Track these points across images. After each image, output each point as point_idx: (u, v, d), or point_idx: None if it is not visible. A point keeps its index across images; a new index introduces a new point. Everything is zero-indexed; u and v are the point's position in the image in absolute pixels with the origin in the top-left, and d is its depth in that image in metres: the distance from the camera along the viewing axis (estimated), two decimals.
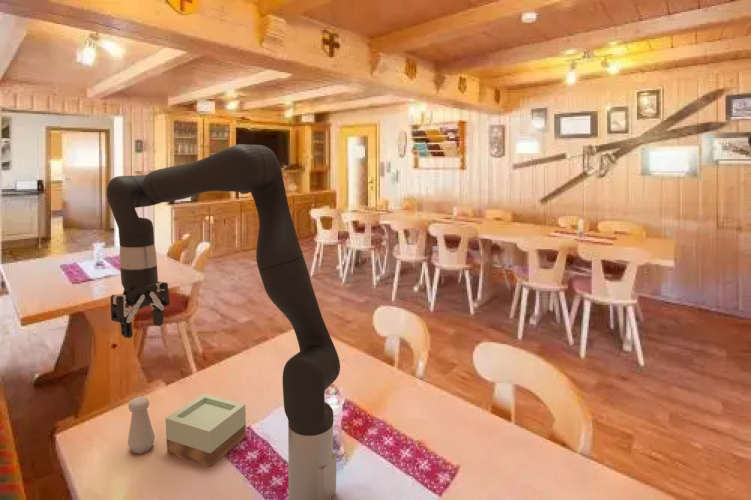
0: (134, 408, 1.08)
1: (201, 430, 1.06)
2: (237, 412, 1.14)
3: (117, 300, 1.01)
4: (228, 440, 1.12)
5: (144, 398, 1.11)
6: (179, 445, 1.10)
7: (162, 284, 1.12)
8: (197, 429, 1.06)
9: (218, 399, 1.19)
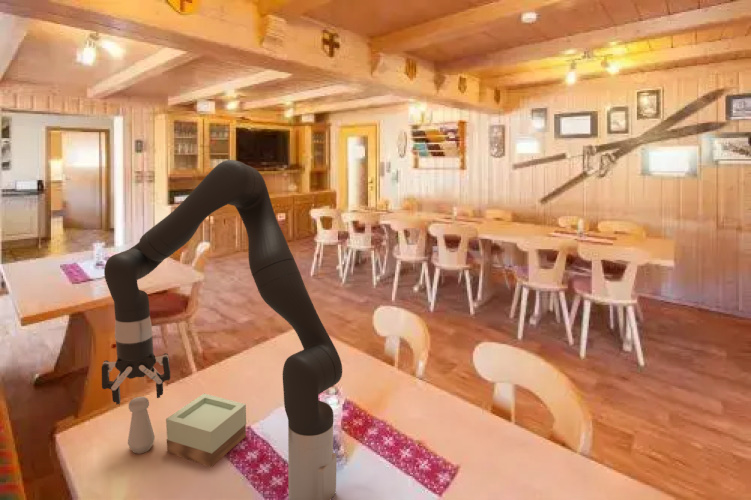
0: (134, 408, 1.08)
1: (202, 430, 1.06)
2: (238, 412, 1.14)
3: None
4: (228, 440, 1.12)
5: (144, 398, 1.11)
6: (179, 445, 1.10)
7: (108, 362, 1.07)
8: (198, 430, 1.06)
9: (218, 399, 1.19)
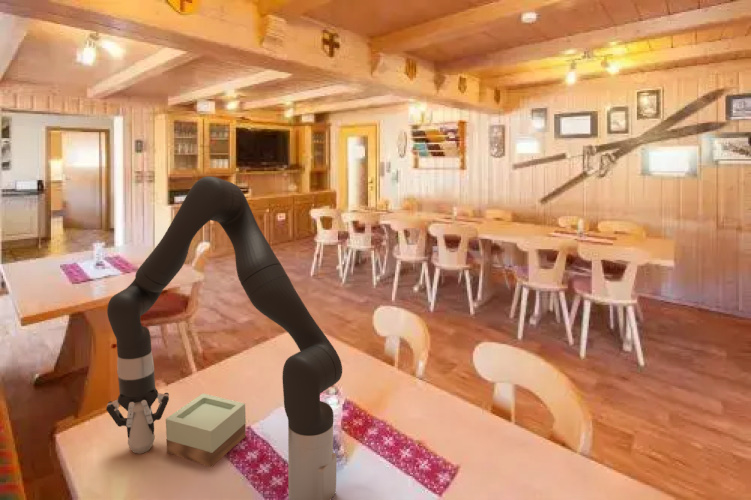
0: (134, 408, 1.08)
1: (202, 430, 1.06)
2: (237, 411, 1.14)
3: None
4: (228, 440, 1.12)
5: None
6: (179, 445, 1.10)
7: None
8: (198, 429, 1.06)
9: (217, 399, 1.19)
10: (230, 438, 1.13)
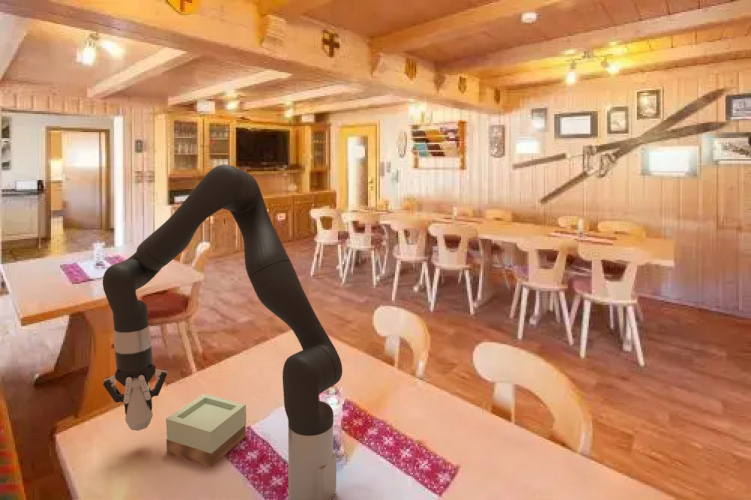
0: (131, 383, 1.07)
1: (202, 430, 1.06)
2: (238, 412, 1.14)
3: None
4: (228, 440, 1.12)
5: None
6: (179, 445, 1.10)
7: (108, 378, 1.07)
8: (198, 429, 1.06)
9: (218, 399, 1.19)
10: (230, 438, 1.13)
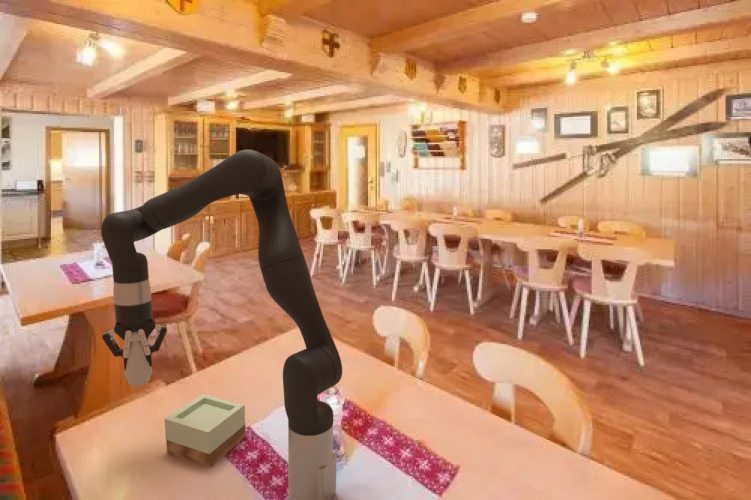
0: (130, 337, 1.05)
1: (200, 431, 1.06)
2: (236, 413, 1.14)
3: None
4: (228, 440, 1.12)
5: None
6: (179, 445, 1.10)
7: (107, 332, 1.05)
8: (196, 430, 1.06)
9: (217, 400, 1.18)
10: (230, 438, 1.13)
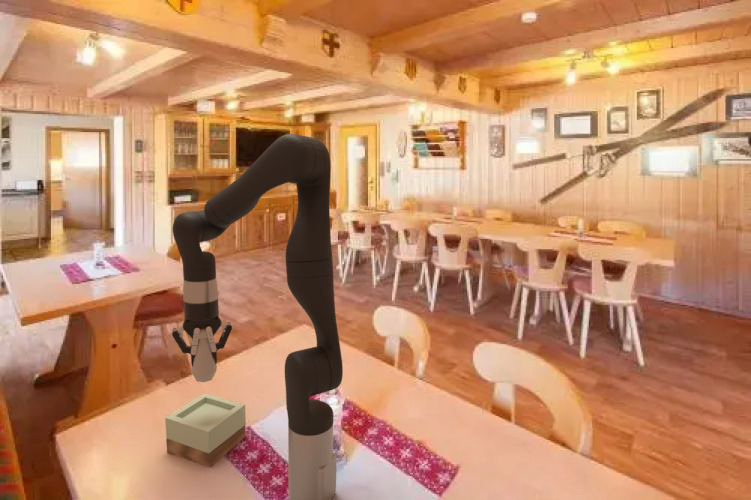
0: (199, 334, 1.07)
1: (200, 430, 1.06)
2: (237, 412, 1.14)
3: None
4: (228, 440, 1.12)
5: None
6: (179, 445, 1.10)
7: (176, 329, 1.07)
8: (196, 429, 1.06)
9: (218, 399, 1.19)
10: (230, 438, 1.13)
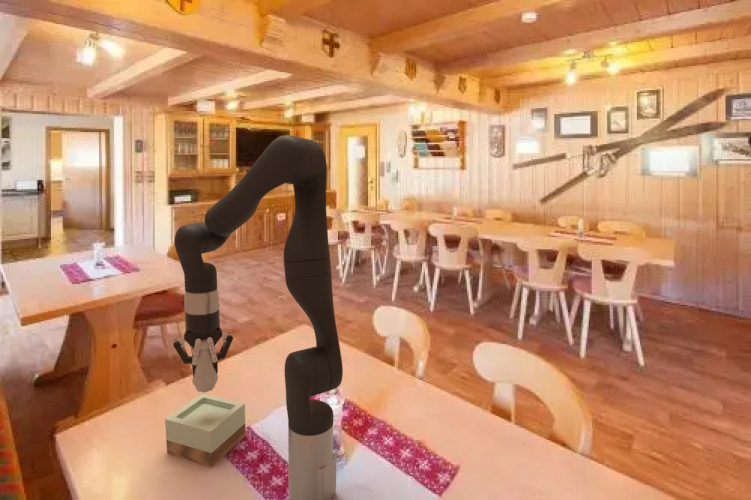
0: (200, 345, 1.08)
1: (202, 430, 1.06)
2: (237, 411, 1.14)
3: None
4: (228, 440, 1.12)
5: None
6: (179, 445, 1.09)
7: (177, 339, 1.08)
8: (198, 429, 1.06)
9: (217, 399, 1.19)
10: (230, 438, 1.13)
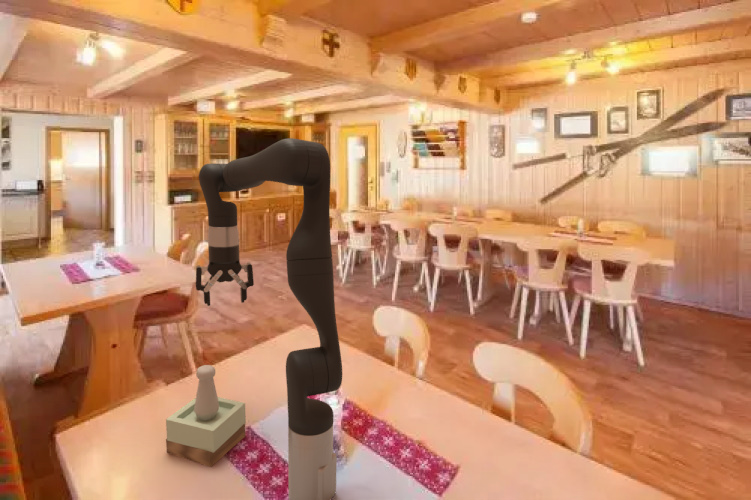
0: (202, 375, 1.09)
1: (204, 430, 1.06)
2: (238, 411, 1.15)
3: None
4: (228, 440, 1.12)
5: (211, 366, 1.12)
6: (179, 445, 1.10)
7: (200, 267, 1.18)
8: (200, 429, 1.06)
9: None
10: (230, 438, 1.13)
